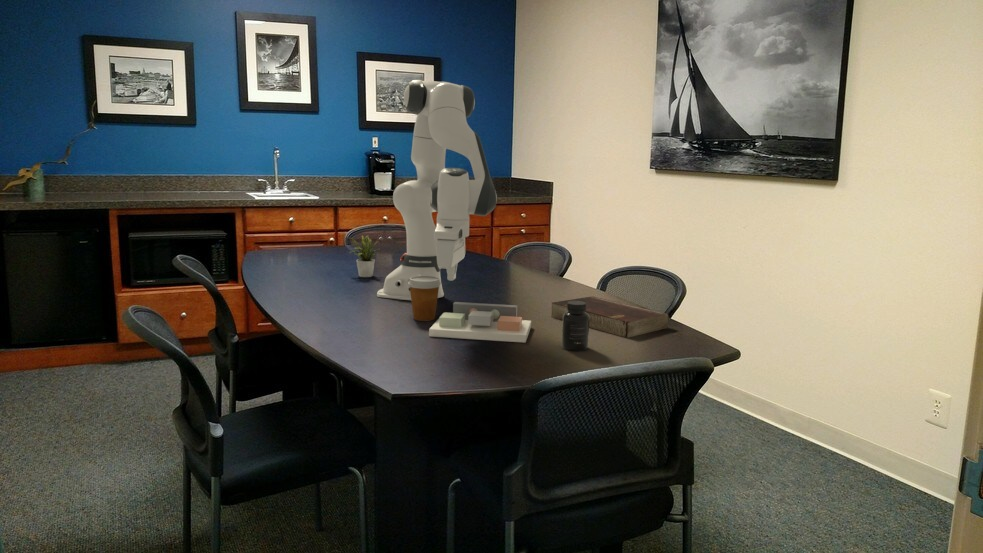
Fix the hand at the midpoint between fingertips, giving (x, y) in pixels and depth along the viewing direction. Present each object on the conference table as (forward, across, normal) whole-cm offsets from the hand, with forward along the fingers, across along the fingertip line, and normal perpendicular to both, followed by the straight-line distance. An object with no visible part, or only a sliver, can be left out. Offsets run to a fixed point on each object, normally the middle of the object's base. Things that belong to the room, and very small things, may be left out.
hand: (451, 279), depth 194 cm
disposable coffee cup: (+15, -12, -10) cm, 22 cm away
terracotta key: (+13, 0, +16) cm, 21 cm away
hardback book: (+15, -22, +43) cm, 51 cm away
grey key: (+12, 0, +8) cm, 15 cm away
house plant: (+15, -73, -50) cm, 90 cm away
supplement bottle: (+14, +8, +35) cm, 38 cm away
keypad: (+14, -2, +8) cm, 17 cm away
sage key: (+14, 0, 0) cm, 14 cm away
